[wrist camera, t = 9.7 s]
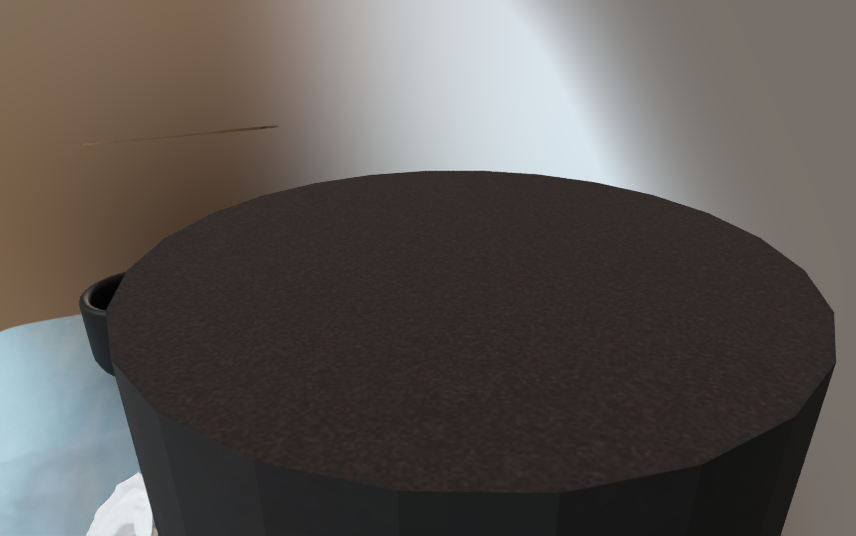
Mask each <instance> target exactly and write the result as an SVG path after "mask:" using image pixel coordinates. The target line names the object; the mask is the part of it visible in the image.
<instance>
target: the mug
mask: <svg viewBox="0 0 856 536" xmlns="http://www.w3.org/2000/svg"><path fill="white" fill-rule="evenodd" d="M126 272H127V271H126ZM126 272H123V273H119V274H116V275H113V276H110V277H107V278H105V279H103V280H101V281H99V282H97V283H95V284H93V285H92V286H90V287H89V288H88V289H87V290H85V292H84V293H83V294H82V295H81V297H80V300H79V306H80V310H81V313H82V317H83V320H84V324H85V328H86V331H87V335H88V338H89V342H90V346H91V349H92V353H93V356H94V358H95V360H96V362H97V363H98V364H99V365H100V367H101V368H102V369H104V370H105V371H106V372H107V373H109V374H111V375H112V376H115V373H114V369H113V365H112V362H111V356H110V346H109V337H108V328H107V319H106V309H107V307H108V305H109V304H110V302H111V300H112V298H113V296H114V294H115V292H116V290H117V289H118V287H119V285H120V283H121V281H122V279H123V277H124V275H125V273H126ZM115 377H116V376H115Z"/></svg>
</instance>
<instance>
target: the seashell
mask: <svg viewBox="0 0 856 536" xmlns="http://www.w3.org/2000/svg"><path fill="white" fill-rule="evenodd" d="M86 536H158V533H157V529H155V528H153V514H152V510H151V507H150V503H149V499H148V495H147V492H146V488H145V484H144V481H143V477H142V475H141V474H139V472H138V473H137V474H135V475H134V476H132V477H131V478H129V479H127V480H126V481H124V482H122V483H120V484H118V485H117V486H116V489H115V491H114V492H113V494H112V495H111V497H110V498H109V499H108V500H106V501H105V503H104V504H103V505H101V507H99V509H98V510H97V512H96V514H95V517H94V521H93V522H92V523H91V527H90V529H89V531H88V533H87V535H86Z"/></svg>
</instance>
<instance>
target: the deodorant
mask: <svg viewBox="0 0 856 536" xmlns="http://www.w3.org/2000/svg"><path fill="white" fill-rule="evenodd" d="M106 319H107V328H108V337H109V346H110V356H111V362H112V365H113V369H114V373H115V376H116V380H117V384H118V388H119V391H120V395H121V399H122V402H123V406H124V410H125V414H126V417H127V421H128V425H129V429H130V432H131V436H132V440H133V443H134V447H135V451H136V455H137V458H138V462H139V466H140V469H141V473H142V477H143V481H144V484H145V488H146V492H147V495H148V499H149V503H150V507H151V510H152V514H153V518H154V521H155V525H156V529H157V533H158V536H780V535H781V532H782V529H783V526H784V523H785V520H786V516H787V513H788V510H789V507H790V504H791V501H792V497H793V495H794V492H795V488H796V485H797V482H798V479H799V476H800V473H801V469H802V467H803V464H804V460H805V457H806V454H807V451H808V448H809V445H810V442H811V438H812V435H813V432H814V429H815V426H816V423H817V420H818V417H819V413H820V410H821V407H822V404H823V401H824V398H825V395H826V392H827V389H828V386H829V382H830V379H831V376H832V373H833V370H834V367H835V364H836V350H835V326H834V312H833V310H832V309H831V308H830V306H829V305H828V303H827V302H826V300H825V299H824V297H823V296H822V295H821V293H820V292H819V290H818V289H817V287H816V286H815V285H814V283H813V282H812V281H811V279H810V277H808V275H807V273H806V272H805V271H804V270H803V269H802V268H800V267H799V266H798V265H796V264H795V263H794V262H792V261H791V260H789V259H788V258H787V257H785V256H784V255H783V254H781V253H780V252H779V251H777V250H776V249H774V248H773V247H772V246H770V245H769V244H768V243H766V242H765V241H764V240H762V239H761V238H759V237H757V236H755V235H752V234H751V233H749V232H746V231H744V230H742V229H740V228H738V227H736V226H734V225H732V224H730V223H728V222H725V221H723V220H721V219H719V218H717V217H715V216H713V215H711V214H709V213H706V212H703V211H700V210H697V209H694V208H691V207H687V206H685V205H681V204H678V203H675V202H672V201H669V200H666V199H663V198H660V197H657V196H654V195H650V194H646V193H641V192H637V191H632V190H628V189H623V188H618V187H614V186H609V185H604V184H600V183H595V182H588V181H581V180H573V179H566V178H560V177H552V176H545V175H537V174H522V173H507V172H492V171H419V172H406V173H392V174H379V175H368V176H361V177H354V178H347V179H341V180H334V181H327V182H321V183H314V184H310V185H306V186H302V187H298V188H293V189H289V190H285V191H281V192H277V193H272V194H268V195H264V196H260V197H258V198H255V199H252V200H249V201H246V202H243V203H241V204H238V205H235V206H232V207H229V208H227V209H224V210H221V211H218V212H215V213H212V214H210V215H208V216H206V217H204V218H202V219H201V220H199V221H197V222H195V223H193V224H191V225H189V226H187V227H185V228H184V229H182V230H180V231H178V232H176V233H174V234H172V235H170V236H168V237H167V238H165V239H164V240H162V241H161V242H160V243H159V244H158V245H157V246H155V247H154V248H153V249H152V250H151V251H149V253H147V254H146V255H145V256H144V257H142V258H141V259H140V260H139V261H138V262H137V263H135V264H134V265H133V266H132V267H131V268H130V269H128V270H127V272H126V273H125V275H124V277H123V279H122V281H121V283H120V285H119V287H118V289H117V290H116V292H115V294H114V296H113V298H112V300H111V302H110V304H109V305H108V307H107V309H106Z"/></svg>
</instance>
